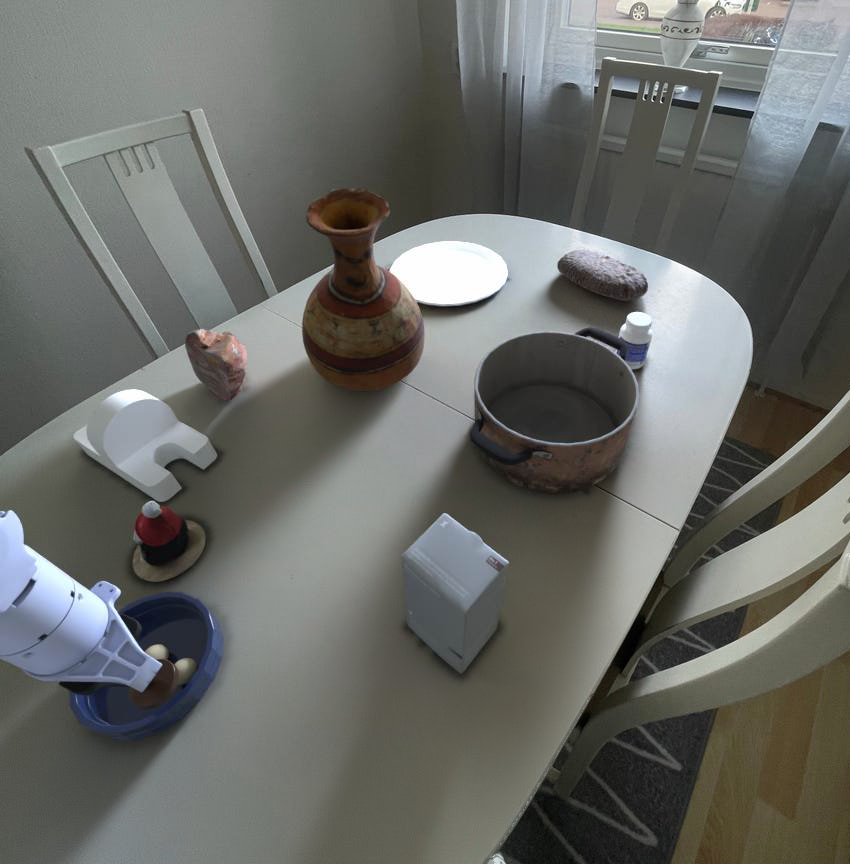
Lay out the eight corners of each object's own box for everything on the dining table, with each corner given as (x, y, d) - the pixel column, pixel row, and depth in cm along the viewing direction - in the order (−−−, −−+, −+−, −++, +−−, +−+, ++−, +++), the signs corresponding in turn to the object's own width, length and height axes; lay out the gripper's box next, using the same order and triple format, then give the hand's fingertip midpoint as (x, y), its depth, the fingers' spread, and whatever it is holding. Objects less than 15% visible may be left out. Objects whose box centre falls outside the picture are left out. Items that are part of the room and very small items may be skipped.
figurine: (103, 515, 64) (157, 466, 60) (181, 537, 70) (236, 494, 66) (81, 579, 58) (140, 529, 54) (169, 597, 64) (227, 553, 60)
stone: (192, 376, 87) (167, 329, 80) (237, 351, 92) (217, 305, 85) (233, 411, 81) (209, 364, 74) (278, 383, 86) (261, 336, 79)
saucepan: (545, 352, 91) (550, 302, 84) (661, 412, 81) (680, 360, 74) (426, 456, 75) (420, 405, 68) (553, 547, 65) (563, 498, 57)
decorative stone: (660, 284, 107) (666, 262, 103) (630, 317, 99) (636, 295, 95) (577, 255, 115) (580, 234, 112) (543, 283, 107) (545, 262, 104)
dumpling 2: (189, 691, 53) (179, 684, 51) (171, 682, 53) (160, 674, 52) (206, 667, 54) (197, 659, 53) (187, 659, 55) (178, 651, 53)
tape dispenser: (162, 504, 69) (124, 454, 62) (83, 451, 76) (39, 400, 68) (220, 455, 75) (191, 404, 68) (142, 410, 82) (107, 358, 74)
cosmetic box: (406, 627, 58) (388, 559, 47) (449, 579, 62) (442, 506, 51) (464, 680, 54) (459, 619, 43) (505, 625, 58) (511, 557, 47)
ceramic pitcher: (326, 417, 80) (271, 243, 60) (302, 342, 94) (251, 178, 73) (444, 381, 86) (431, 211, 65) (406, 315, 99) (385, 156, 78)
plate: (455, 234, 122) (454, 229, 121) (532, 277, 109) (532, 271, 108) (365, 273, 110) (365, 268, 109) (440, 326, 97) (440, 321, 96)
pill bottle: (647, 370, 88) (659, 329, 82) (616, 370, 88) (626, 329, 82) (640, 350, 92) (652, 309, 86) (611, 350, 92) (620, 309, 86)
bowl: (159, 765, 49) (142, 757, 46) (57, 709, 52) (36, 699, 50) (250, 629, 58) (239, 617, 55) (158, 589, 61) (144, 575, 59)
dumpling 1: (160, 677, 54) (150, 669, 52) (142, 668, 54) (131, 660, 53) (177, 654, 55) (168, 645, 54) (160, 645, 56) (150, 637, 54)
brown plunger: (157, 716, 47) (101, 689, 41) (124, 698, 48) (64, 669, 42) (188, 671, 50) (140, 638, 43) (156, 655, 51) (104, 620, 44)
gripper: (154, 593, 36) (225, 654, 46) (8, 526, 40) (103, 596, 50) (66, 702, 32) (166, 743, 41) (-89, 615, 35) (36, 672, 45)
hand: (127, 668), depth 45 cm, fingers closed on brown plunger
